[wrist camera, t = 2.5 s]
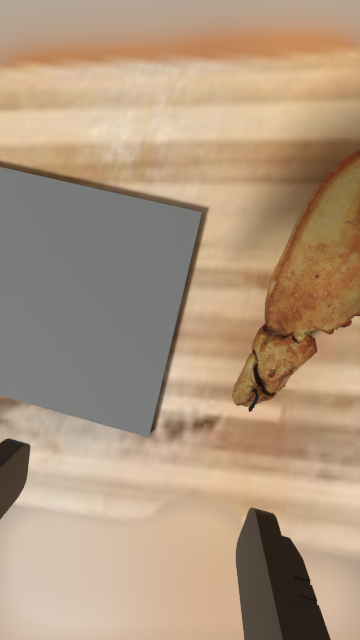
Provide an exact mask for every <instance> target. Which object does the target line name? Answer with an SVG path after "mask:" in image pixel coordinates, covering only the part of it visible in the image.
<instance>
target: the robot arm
mask: <svg viewBox="0 0 360 640" xmlns="http://www.w3.org/2000/svg"><path fill="white" fill-rule="evenodd" d="M29 455H30V445H29V444H27V443H23V442H19V441H16V440H12V439H6V440H4V441H3V442H1V443H0V519H1V518H2V516H3V515H4V514H5V513H6V511H7V510H8V509H9V508H10V507H11V506H12V504H13V503H14V502H15V501H16V499H17V498H18V496H19V495H20V493H21V492H22V490H23V488H24V485H25V483H26V479H27V472H28V464H29ZM236 567H237V576H238V584H239V594H240V603H241V612H242V621H243V630H244V639H245V640H330V637H329V634H328V631H327V628H326V625H325V623H324V619H323V616H322V613H321V611H320V608H319V606H318V605H317V599H316V596H315V593H314V590H313V587H312V585H310V579H309V576H308V573H307V570H306V567H305V564H304V561H303V558H302V557H301V555H300V553H299V552H298V550H297V549H296V547H295V545H294V544H293V542H292V541H291V539H290V538H288V537H284V536H282V535H281V532H280V528H279V525H278V522H277V519H276V516H275V515H274V514H273V513H270V512H266V511H262V510H259V509H255V508H250V509H249V512H248V514H247V517H246V520H245V522H244V525H243V528H242V530H241V533H240V536H239V538H238V542H237V548H236Z"/></svg>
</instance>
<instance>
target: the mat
mask: <svg viewBox="0 0 360 640" xmlns="http://www.w3.org/2000/svg"><path fill="white" fill-rule="evenodd" d="M201 217H202V212H198V211H194V210H189V209H185V208H181V207H176V206H172V205H167V204H163V203H158V202H154V201H149V200H145V199H141V198H136V197H132V196H127V195H123V194H118V193H114V192H109V191H105V190H101V189H96V188H92V187H87V186H83V185H78V184H74V183H69V182H65V181H61V180H56V179H52V178H47V177H43V176H38V175H34V174H30V173H25V172H21V171H16V170H12V169H7V168H3V167H0V396H4V397H7V398H11V399H15V400H18V401H22V402H25V403H29V404H32V405H36V406H39V407H43V408H46V409H50V410H53V411H57V412H60V413H64V414H68V415H71V416H75V417H78V418H82V419H85V420H89V421H92V422H96V423H99V424H103V425H106V426H110V427H113V428H117V429H121V430H124V431H128V432H131V433H135V434H138V435H142V436H145V437H149V436H150V433H151V429H152V424H153V420H154V416H155V412H156V407H157V403H158V399H159V395H160V390H161V386H162V382H163V378H164V374H165V369H166V365H167V361H168V357H169V352H170V348H171V344H172V340H173V335H174V331H175V327H176V323H177V318H178V314H179V310H180V306H181V302H182V297H183V293H184V289H185V285H186V280H187V276H188V272H189V268H190V263H191V259H192V255H193V251H194V247H195V242H196V238H197V234H198V230H199V225H200V221H201Z"/></svg>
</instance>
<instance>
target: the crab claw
mask: <svg viewBox="0 0 360 640" xmlns="http://www.w3.org/2000/svg"><path fill="white" fill-rule="evenodd" d="M354 316H360V151H358V152H357V153H355V154H353V155H352V156H350V157H349V158H347V159H346V160H345V161H343V162H342V163H341V164H340V165H338V166H337V167H336V168H335V170H334V171H332V172H331V173H330V174H329V175H328V176H327V177H326V179H325V180H324V181H323V182H322V183H321V184H320V186H319V187H318V188H317V189H316V190H315V192H314V193H313V195H312V197H311V198H310V200H309V201H308V203H307V204H306V206H305V208H304V209H303V210H302V212H301V214H300V217H299V219H298V220H297V222H296V224H295V226H294V228H293V231H292V233H291V237H290V238H289V241H288V243H287V245H286V247H285V250H284V252H283V254H282V256H281V258H280V260H279V262H278V264H277V266H276V268H275V270H274V273H273V276H272V278H271V281H270V284H269V288H268V293H267V297H266V303H265V322H266V324H264V325H263V326H262V327H261V328H260V329H259V331H258V333H257V335H256V337H255V339H254V342H253V345H252V352H253V353H251V354H250V355H249V357H248V359H247V361H246V364H245V366H244V368H243V370H242V372H241V374H240V376H239V378H238V380H237V382H236V384H235V386H234V390H233V396H232V399H233V401H234V403H235V404H236V405H237V406H239V405H243V406H245V407H249V406H250V407H249V412H250V411H252V409H253V408H254V406H255V405H256V404H258V403H261V402H263V401H267V400H270V399H272V398H273V397H275V395H276V394H277V393H278V392H279V391H280V390H281V389H282V388H283V387H285V386H286V385H285V384H286V382H287V380H288V379H289V377H290V376H291V375H292V374H293V373H294V372H295V371H296V370H298V369H299V367H300V366H301V365H302V364H304V363H305V362H306V361H307V360H308V359H310V358H311V357H312V356H313V355H314V354H315V353H316V352H317V347H316V342H315V338H313V337H312V336H311V332H312V331H314V330H321V331H323V332H325V333H328V334H332V333H333V332H334V329H336V330H337V329H338V328H339V327H347V326H349V325H351V322H352V321H351V319H352V318H353V317H354Z"/></svg>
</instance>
